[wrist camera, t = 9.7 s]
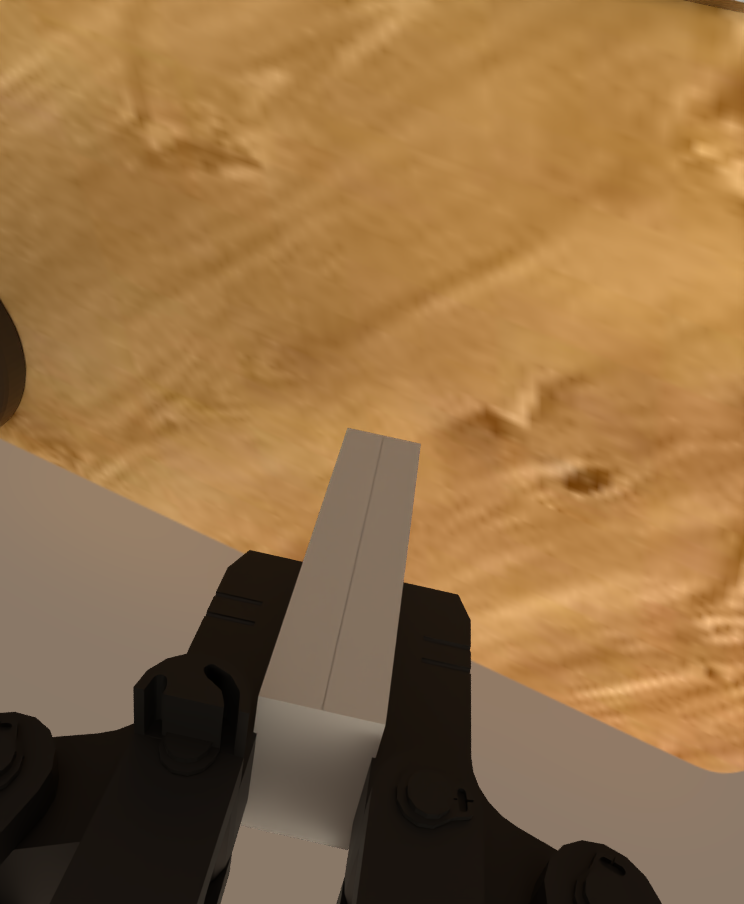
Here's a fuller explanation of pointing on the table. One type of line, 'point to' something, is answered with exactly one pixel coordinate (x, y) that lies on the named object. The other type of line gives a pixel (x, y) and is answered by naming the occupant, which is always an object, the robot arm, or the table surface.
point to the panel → (723, 4)
